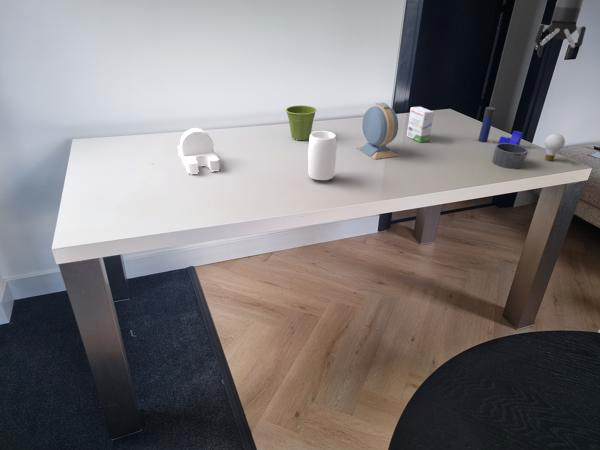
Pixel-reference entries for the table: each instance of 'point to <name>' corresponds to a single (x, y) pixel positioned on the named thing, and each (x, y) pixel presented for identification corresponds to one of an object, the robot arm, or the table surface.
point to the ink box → (420, 124)
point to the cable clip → (512, 138)
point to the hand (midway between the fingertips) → (553, 58)
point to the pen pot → (509, 155)
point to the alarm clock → (379, 131)
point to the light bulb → (553, 145)
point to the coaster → (487, 140)
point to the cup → (322, 155)
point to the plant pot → (301, 121)
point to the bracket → (197, 150)
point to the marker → (486, 124)
